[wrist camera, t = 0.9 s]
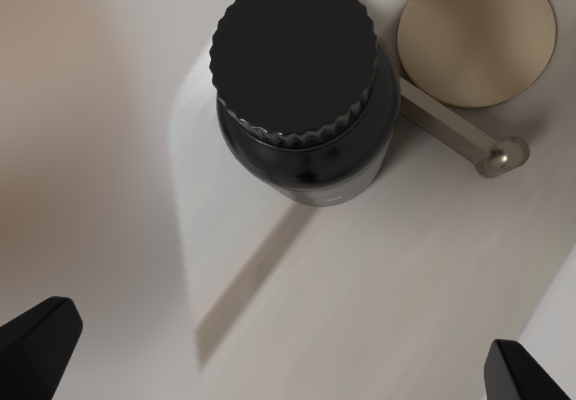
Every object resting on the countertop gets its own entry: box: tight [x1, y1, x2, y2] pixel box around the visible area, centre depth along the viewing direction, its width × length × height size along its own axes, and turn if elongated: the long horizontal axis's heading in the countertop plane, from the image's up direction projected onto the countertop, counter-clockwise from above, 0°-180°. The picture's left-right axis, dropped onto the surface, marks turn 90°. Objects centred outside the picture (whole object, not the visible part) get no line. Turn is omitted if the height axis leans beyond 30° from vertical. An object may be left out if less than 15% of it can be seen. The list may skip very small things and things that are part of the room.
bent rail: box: [399, 76, 530, 178], centre depth 21 cm, size 2×14×3 cm, turn 44°
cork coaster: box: [397, 0, 556, 108], centre depth 22 cm, size 8×8×1 cm
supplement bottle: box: [209, 0, 401, 207], centre depth 17 cm, size 7×7×12 cm
